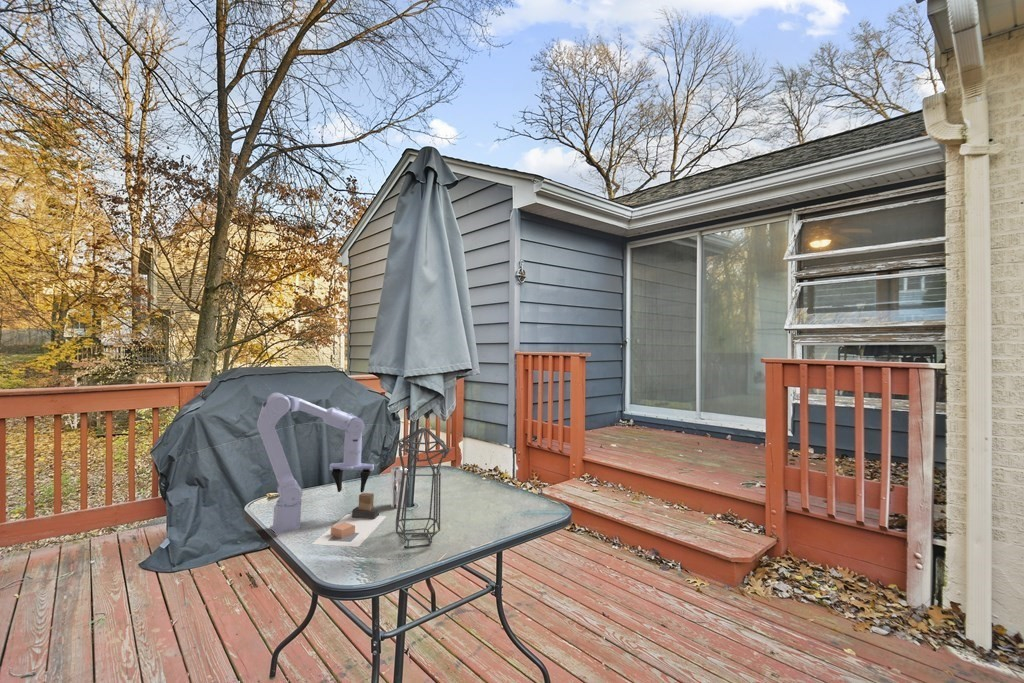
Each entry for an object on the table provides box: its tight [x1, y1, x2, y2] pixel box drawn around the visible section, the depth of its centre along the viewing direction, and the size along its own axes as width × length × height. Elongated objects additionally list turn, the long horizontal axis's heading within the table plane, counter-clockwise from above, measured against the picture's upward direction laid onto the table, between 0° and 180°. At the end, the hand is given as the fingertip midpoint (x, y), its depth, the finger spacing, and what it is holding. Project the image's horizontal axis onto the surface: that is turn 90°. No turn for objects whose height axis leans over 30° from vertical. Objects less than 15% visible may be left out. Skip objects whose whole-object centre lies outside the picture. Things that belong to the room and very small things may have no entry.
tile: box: [330, 522, 355, 539], centre depth 142 cm, size 5×5×2 cm
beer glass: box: [389, 465, 407, 509], centre depth 171 cm, size 7×7×15 cm
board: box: [311, 513, 387, 548], centre depth 147 cm, size 26×14×1 cm, turn 177°
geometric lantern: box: [395, 427, 452, 549], centre depth 143 cm, size 16×16×35 cm
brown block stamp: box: [351, 492, 380, 519], centre depth 158 cm, size 4×8×8 cm, turn 85°
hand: (350, 491), depth 157 cm, fingers open, 7 cm apart
